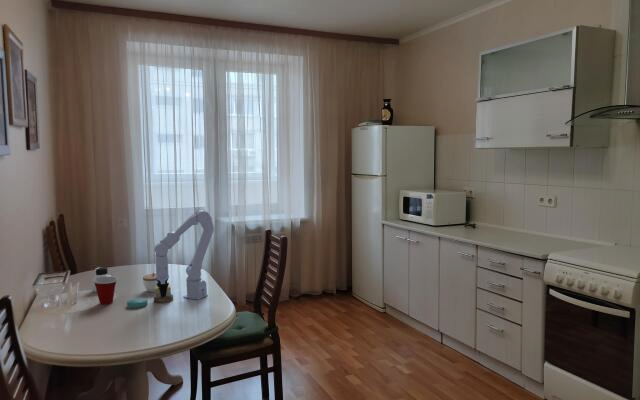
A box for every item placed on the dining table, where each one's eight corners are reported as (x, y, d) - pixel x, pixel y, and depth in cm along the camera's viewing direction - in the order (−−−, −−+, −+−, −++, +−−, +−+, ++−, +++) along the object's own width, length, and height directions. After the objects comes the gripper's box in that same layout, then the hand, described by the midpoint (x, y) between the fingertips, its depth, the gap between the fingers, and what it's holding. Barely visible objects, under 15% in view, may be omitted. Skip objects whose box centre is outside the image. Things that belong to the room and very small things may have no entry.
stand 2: (177, 298, 235) (176, 294, 235) (163, 304, 227) (163, 300, 227) (163, 296, 239) (163, 292, 238) (149, 301, 231) (149, 297, 230)
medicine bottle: (112, 287, 256) (111, 266, 254) (105, 291, 249) (103, 269, 247) (99, 287, 256) (98, 266, 255) (92, 291, 249) (90, 269, 248)
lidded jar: (151, 294, 242) (150, 276, 241) (139, 291, 249) (138, 273, 248) (169, 289, 251) (168, 272, 250) (157, 286, 257) (156, 269, 256)
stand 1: (151, 303, 228) (151, 299, 227) (137, 309, 219) (136, 305, 219) (137, 301, 231) (137, 297, 231) (123, 307, 223) (122, 302, 223)
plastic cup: (109, 307, 224) (108, 282, 222) (89, 305, 226) (88, 281, 225) (123, 299, 234) (122, 276, 233) (104, 298, 236) (102, 275, 235)
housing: (170, 294, 236) (170, 284, 235) (171, 296, 232) (170, 286, 231) (155, 295, 233) (155, 286, 233) (155, 298, 229) (155, 288, 229)
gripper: (153, 265, 236) (154, 291, 238) (153, 271, 223) (154, 299, 224) (168, 263, 239) (169, 289, 240) (169, 270, 225) (170, 298, 227)
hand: (163, 294), depth 232 cm, fingers open, 7 cm apart
